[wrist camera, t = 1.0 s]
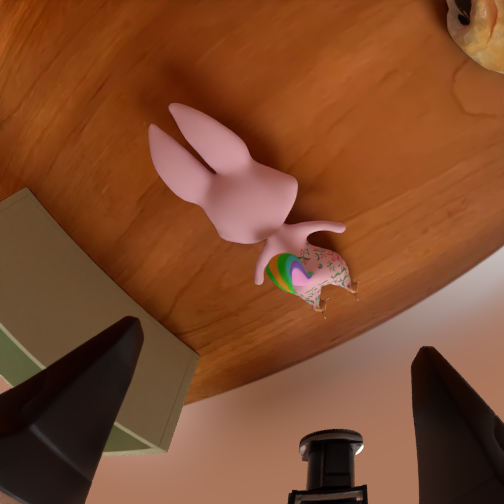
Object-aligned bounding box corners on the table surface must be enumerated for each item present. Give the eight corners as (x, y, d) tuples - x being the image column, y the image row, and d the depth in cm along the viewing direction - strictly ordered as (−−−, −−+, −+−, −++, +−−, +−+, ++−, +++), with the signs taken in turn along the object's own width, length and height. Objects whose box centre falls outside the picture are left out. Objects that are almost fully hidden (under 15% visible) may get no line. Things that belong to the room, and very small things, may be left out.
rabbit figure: (372, 253, 19) (212, 67, 13) (399, 320, 15) (183, 74, 8) (298, 297, 22) (133, 147, 15) (305, 367, 17) (82, 195, 11)
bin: (200, 356, 25) (167, 452, 17) (135, 387, 30) (104, 456, 22) (26, 186, 19) (-60, 242, 11) (1, 260, 24) (-55, 313, 16)
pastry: (543, 17, 7) (576, 16, 4) (547, 102, 10) (583, 112, 7) (434, -39, 8) (461, -59, 5) (441, 57, 11) (476, 53, 8)
